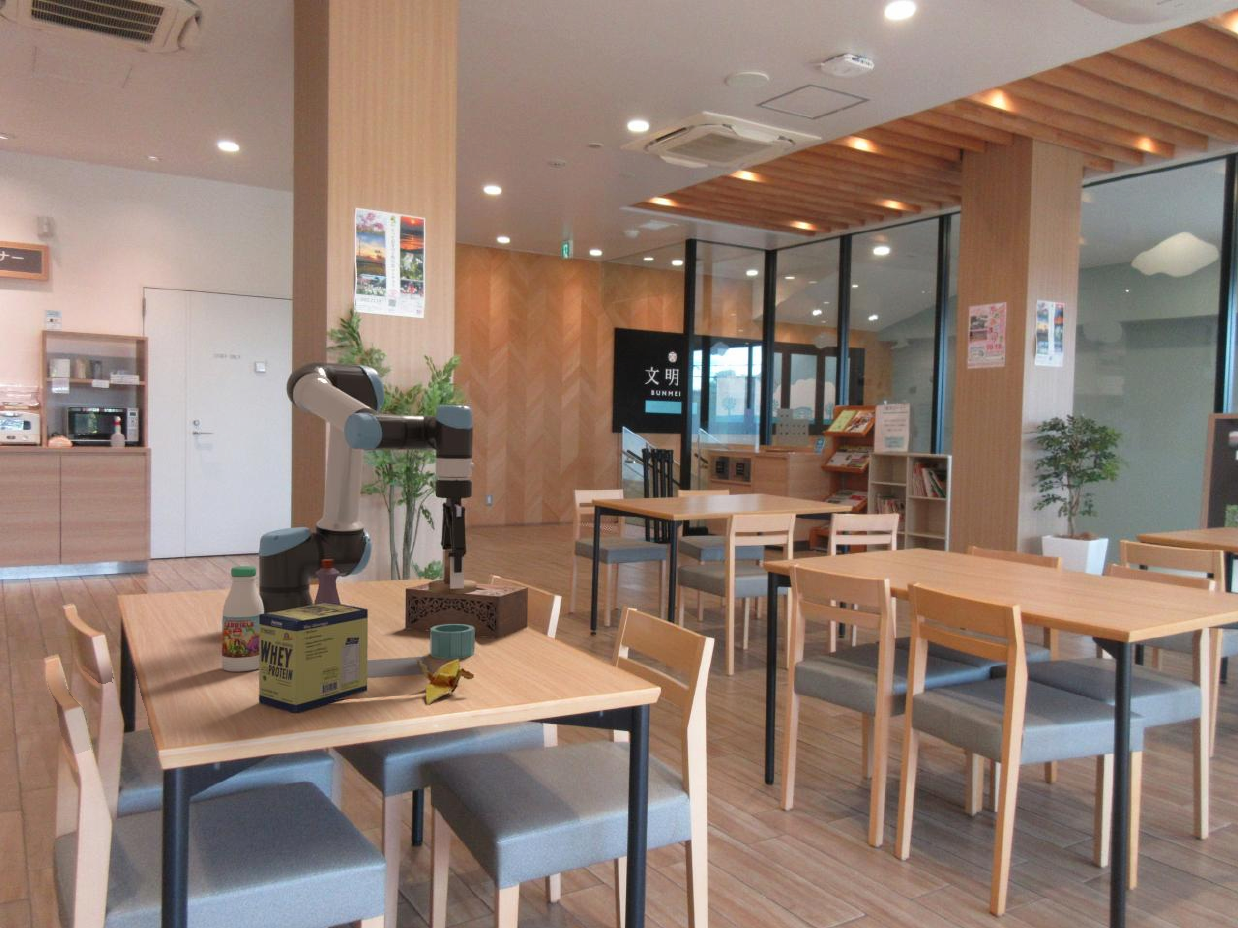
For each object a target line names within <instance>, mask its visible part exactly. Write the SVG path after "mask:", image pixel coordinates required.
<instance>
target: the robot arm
mask: <svg viewBox="0 0 1238 928" xmlns="http://www.w3.org/2000/svg"><path fill="white" fill-rule="evenodd" d="M285 388H286V395H287V397H288V399H289V401H290V402H291V404H292V405H294V407H296V408H297V409H299V410H300V411H302V412H303V413H306V414H315V415H316V416H318V417H319V418H321V419H322V420H324V421H326V422H327V423H329V437H328V449H327V459H326V460H327V462H326V475H325V488H324V489H325V490H324V502H323V503H324V504H323V515H322V518H320V519H319V520H318V521H316V524H315V532H312V531H311V529H310V528H309V527H307V526H299V527H286V528H279V529H276V530H275V529H274V530H271V531H268V532H266V533H264V534H263V535H262V536H261V537H260V539H259V551H258V554H257V555H258V561H259V562H258V563H259V564H258V565H259V569H258V570H259V572H258V573H259V575H258V577H259V578H258V584H259V585H258V586H259V587H258V590H259V591H258V593H259V595H260V597H261V599H262V602H263V607H264V613H271V612H278V611H283V610H289V609H295V608H301V607H306V606H312V605H314V601H313V598H312V595H311V590H310V589H311V588H310V585H311V584H310V583H311V581H310V580H318V578H317V576H316V572H317V571H319V570H320V569H321V568H322V560H324V559H333V568H334V569H336V570H337V571H338V572H339V575H338V577H341V578H346V577H348V576H354V575H358V574H360V573H361V572H363V571H364V570H365V569H366V567H367V566H368V564H369V561H370V558H371V555H372V542H371V539H372V538H371V537H370V534H369V533H368V532H367V531H366V530H365V528H364V527H365V525H364V524H363V523H362V521H361V520H360V519H359V514H360V503H361V502H360V501H361V492H362V491H361V490H362V489H361V488H362V477H363V465H364V464H363V463H364V455H365V453H364V452H365V451H378V450H379V451H381V450H382V451H385V450H387V451H389V450H391V451H394V450H395V451H398V450H399V451H424V452H425V451H435V477H436V478H437V480H436V481H435V497H437V498H438V499H439V498H441V499H445V502H442V522H441V523H442V525H441V542H440V545H441V549H442V565H441V566H442V569H441V571H442V572H441V573H442V574H441V575H442V576H441V577H442V579H441V580H444V567H445V550H446V549H451V553H449V554H448V557H450V589H455V588H464V580H465V555H466V554H467V546H466V545H467V544H466V543H467V541H466V540H467V539H466V520H465V519H466V517H465V516H466V515H465V513H466V507H465V506H463V505H462V504H463V503H462V499H469V498H472V496H473V491H472V490H473V482H472V480H471V479H470V478H471V477H472V476H473V475H472V474H473V470H472V468H475V463H473V460H472V459H473V439H474V438H473V436H474V435H473V433H474V432H473V430H474V423H473V410H472V408H471V407H470V406H466V405H450V404H449V405H439V406H437V408H436V412H435V415H426V414H425V415H422V414H421V415H417V414H392V413H391V414H390V413H387V414H386V413H382V412H381V413H380V411H381V410H382V407H383V405H384V403H385V387H384V384H383V380H382V378H381V376H380V374H379V372H377V370H375V368H373V367H371V366H366V365H360V364H352V363H351V364H350V363H349V364H348V363H333V362H321V361H316V362H314V361H313V362H309V363H305V364H302V365H300V366H298V367H297V368H295V370H294V371H292V373H291V374H290V375H289V377H288V379H287V382H286V387H285ZM338 577H337V578H338Z"/></svg>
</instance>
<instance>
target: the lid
mask: <svg viewBox="0 0 1238 928" xmlns="http://www.w3.org/2000/svg"><path fill="white" fill-rule="evenodd" d="M449 553H451V549H446V550H445V567H444V580H442V579H437V580H432V581H429V582H428V583H429V592H432V593H438V594H463V593H470V592H474V591H476V590H477V584H478V583H477V581H475V580H471V579H464V588H455V589H450V557H448V554H449Z"/></svg>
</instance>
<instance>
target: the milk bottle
mask: <svg viewBox="0 0 1238 928" xmlns="http://www.w3.org/2000/svg"><path fill="white" fill-rule="evenodd" d="M230 570H231V571H230V576H231V577H230V579H231V580H232V582H231V587H230V590H229V592H228V595H227V597H226V599H225V602H224V604H223V609H222V619H221V620H222V621H221V622H222V625H221V627H222V629H221V633H222V634H221V667H222V669H223V670H224V671H225V672H232V673H233V672H249V671H255V670H259V615H260V614H264V607H263V602H262V599H261V597H260V595H259V591H258V588H257V585H256V579H257V568H256V566H246V565H245V566H244V565H243V566H234V567H232V568H231V569H230Z"/></svg>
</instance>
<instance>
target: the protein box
mask: <svg viewBox="0 0 1238 928" xmlns="http://www.w3.org/2000/svg"><path fill="white" fill-rule="evenodd" d="M368 611H369V609H368V608H363V607H359V606H354V605H353V606H352V605H347V604H342V603H341V604H338V603H332V602H329V603H323V604H317V605H312V606H306V607H301V608H295V609H289V610H283V611H278V612H271V613H264V614H260V615H259V669H258V675H259V676H258V678H259V679H258V684H259V685H258V688H259V689H258V703H259V704H264V705H267V706H268V707H269V706H270V707H273V708H276V709H279V708H280V709H279V710H283V711H286V710H287V712H290V713H293V714H299V713H303V712H306V711H309V710H314V709H316V708H320V707H324V706H328V705H331V704H335V703H339V702H342V701H344V700H347V698H346V697H348V696H353V695H355V694H359V693H364V692H366V691H368V678H367V660H368V643H369V641H368V635H369V634H368V633H369V632H368V631H369V629H368V627H369V626H368V625H369V623H368V622H369V621H368V620H369V619H368V618H369V617H368V616H369V612H368ZM313 708H314V709H313Z"/></svg>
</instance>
